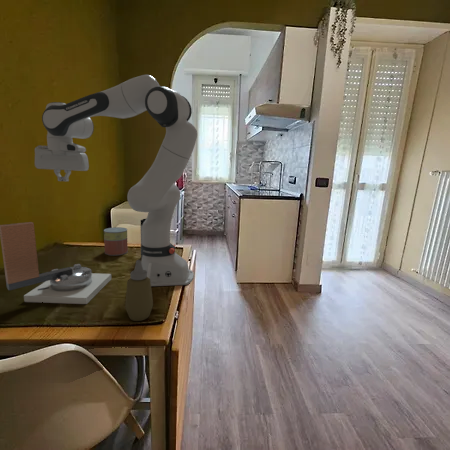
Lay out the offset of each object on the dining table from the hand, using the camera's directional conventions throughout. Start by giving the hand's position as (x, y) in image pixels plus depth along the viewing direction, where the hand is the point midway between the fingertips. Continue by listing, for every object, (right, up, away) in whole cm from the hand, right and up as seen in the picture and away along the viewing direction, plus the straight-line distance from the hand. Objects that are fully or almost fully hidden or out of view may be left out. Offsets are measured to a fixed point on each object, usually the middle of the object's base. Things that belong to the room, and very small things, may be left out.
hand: (63, 181), depth 110 cm
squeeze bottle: (+41, -46, -28) cm, 68 cm away
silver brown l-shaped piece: (+8, -40, -18) cm, 45 cm away
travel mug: (+28, -34, +24) cm, 51 cm away
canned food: (+10, -32, +30) cm, 45 cm away
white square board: (+11, -41, -13) cm, 45 cm away
